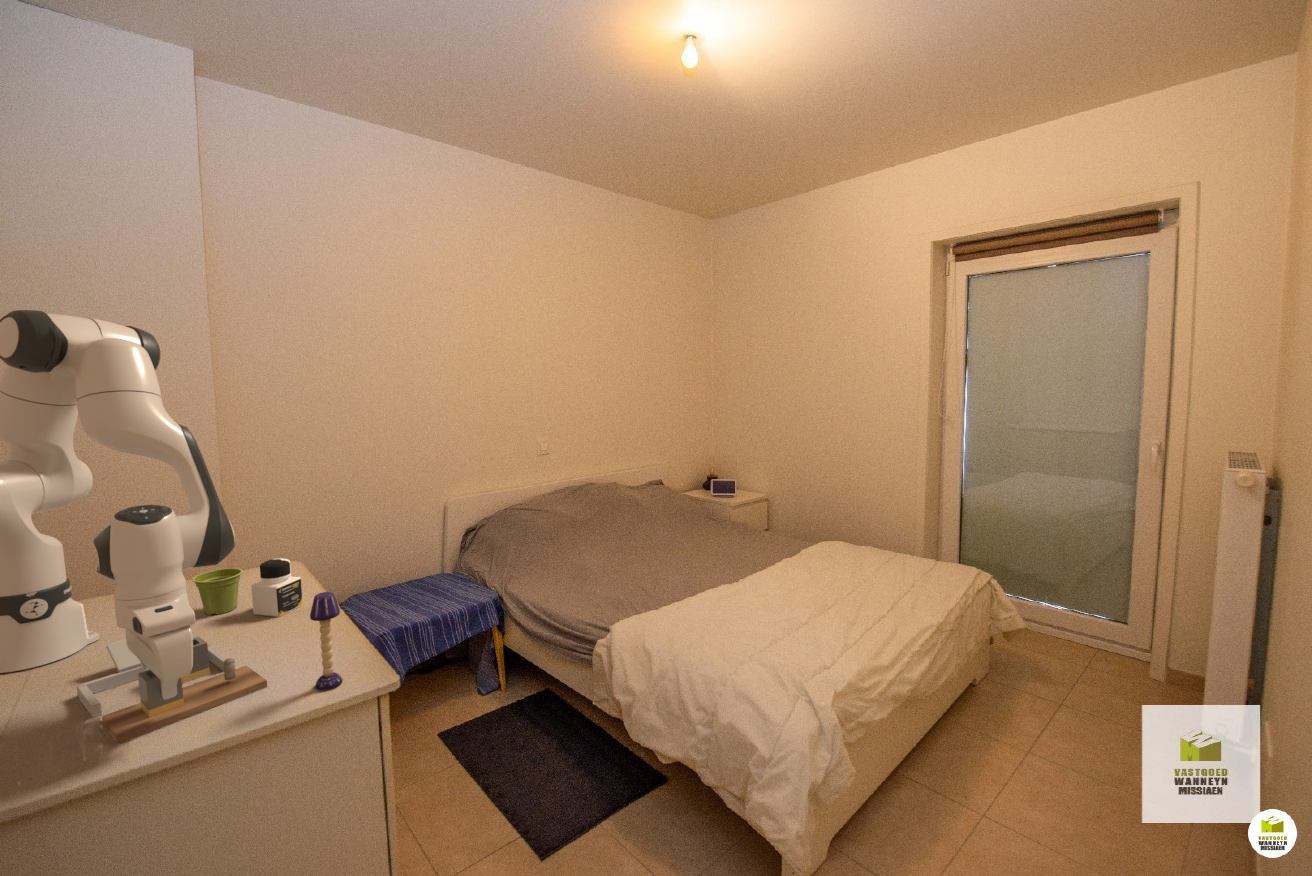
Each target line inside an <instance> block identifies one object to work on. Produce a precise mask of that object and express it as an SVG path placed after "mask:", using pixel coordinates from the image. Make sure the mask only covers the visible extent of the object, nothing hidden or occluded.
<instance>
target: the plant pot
mask: <svg viewBox="0 0 1312 876" xmlns="http://www.w3.org/2000/svg"><path fill="white" fill-rule="evenodd" d="M241 575H243V570H242V568H236V567H228V568H220V569H213V570H209V571H205V572H203V573H199V574H197V575H195V576H193V578H192V582H193V583H195V586H196V588H197V589H198V592H199V597H200V600H201V602H202V603H201V604H202V607H203V610H204V613H205V614H206V615H214V614H216V615H217V614H218V615H222V614H225V613H228V612H232V611H233V610H235V609H236V608H237V607H238V597H239V585H240V584H239V582H240V579H241Z"/></svg>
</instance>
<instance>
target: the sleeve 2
mask: <svg viewBox="0 0 1312 876" xmlns="http://www.w3.org/2000/svg"><path fill="white" fill-rule="evenodd" d="M207 645H208V642H207V641H205V640H204V639H203V638H201V637H200V636H196V637H193V667H192V670H191V673H190V674H189V675H187V676H185V677H182V684H184V683H186V682H189V681H192V680H196V679H198V678H201V677H204V676H208V675H210V674H211V671H210V660H209V658H208V646H207Z"/></svg>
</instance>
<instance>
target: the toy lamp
mask: <svg viewBox="0 0 1312 876" xmlns="http://www.w3.org/2000/svg"><path fill="white" fill-rule="evenodd" d="M340 613H341V609H340V606H339V605H338V602H337V599H336V597H335V594H334V592H331V591H323V592H319V593H316V594H315V595H314V597H313V601H312V605H311V609H310V614H309V618H310V620H311V621H314V622H319V625H320V626H319V633H320V637H319V639H320V642H321V644H320V649H321V653H320V654H321V655H320V656H321V659H322V662H321V664H322V668H323V669H322V675H321V676H319V678H318V679H317V680H316V682H315V686H314V687H315V688H314V689H315V690H317V691H328V690H332V689H335V688H337V687H339V686H340V685H341V684H342V683H343V678H342V676H341V675H340V674H339V673H338V672H335V668H334V666H333V665H334V658H333V655H334V651H333V649H332V648H333V642H332V637H333V636H332V633H331V631H332V626H331V621H332V620H333V619H334V618H337V617H338V616H339V615H340Z"/></svg>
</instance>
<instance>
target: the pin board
mask: <svg viewBox="0 0 1312 876" xmlns="http://www.w3.org/2000/svg"><path fill="white" fill-rule="evenodd" d="M223 665H224V671H223V673H222V674H221V673H220V674H219V675H215V676H213V677H209V678H207V679H204V680H201V681H198V682H196V683H193V684H192V683H191V684H190V685H187V686H185V687H182V689H183V699H184V705H182V706H180V707H177V708H174V709H172V710H169V711H166V712H163V713H161V714H158V715H155V716H153V717H149V716H148V715H147V714H146V713H145V712H144V711H143V710H142V708H141V702H138V703H136V704H134V705H133V704H132V705H129V706H127V707H124V708H122V709H118V710H115V711H113V712H110V713H107V714H103V715H102V716H101V720H102V725H104V727H105V728H106V730H107V731H108V732H109V733H110V735H111V736H112V737H113V739H114V741H116V742H117V744H118V745H119V744H120V745H121V744H123V743H125V742H127V741H130V740H133V739H135V738H139V736H143V735H145V734H146V735H147V734H148V733H151V732H153V731H156V730H158V729H161V728H164V727H166V726H169V725H171V724H174V723H177V722H179V721H182V720H184V719H187V718H191V717H192V716H195V715H197V714H200V713H203V712H205V711H209V710H210V709H213V708H216V707H218V706H221V705H223V704H227V703H228V702H230V701H231V702H232V701H233V700H236V699H239V698H241V697H244V696H247V695H249V694H251V693H254V692H257V691H259V690H262V689H265V688H267V687H268V680H267V679H266V678H264V677H263V676H261V675H260V674H258V672H256V671H255V670H254V669H252V668H251V667H249V666H247V665H245V666H241V667H239V668H236V662H235V659H234V658H232V657H227V659H226V660H225V661H224V663H223Z"/></svg>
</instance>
